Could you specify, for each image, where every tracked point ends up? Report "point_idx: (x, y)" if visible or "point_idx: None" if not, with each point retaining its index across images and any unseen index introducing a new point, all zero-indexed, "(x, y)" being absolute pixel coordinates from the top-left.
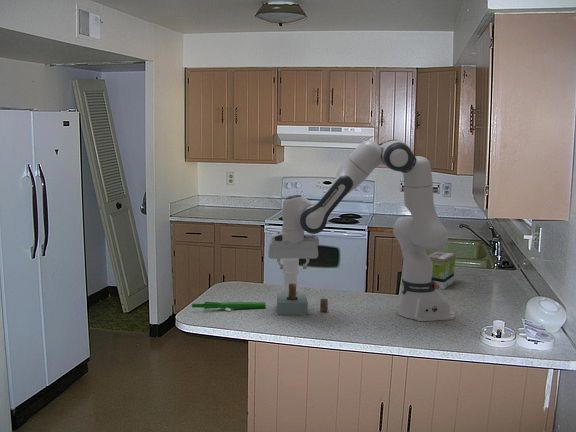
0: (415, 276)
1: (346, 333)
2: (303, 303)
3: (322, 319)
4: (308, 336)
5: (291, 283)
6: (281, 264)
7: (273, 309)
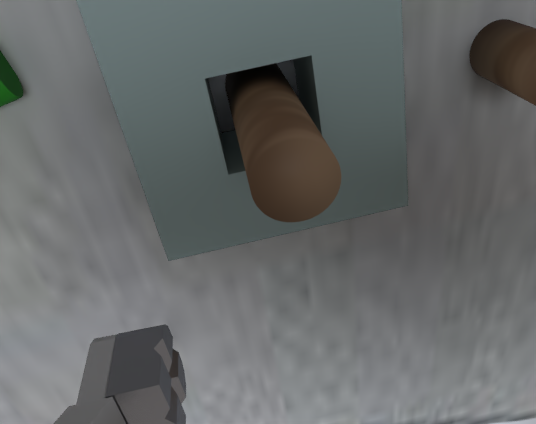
0: None
1: None
2: (373, 211)
3: (464, 212)
4: (379, 420)
5: (279, 148)
6: (126, 411)
7: (99, 93)
